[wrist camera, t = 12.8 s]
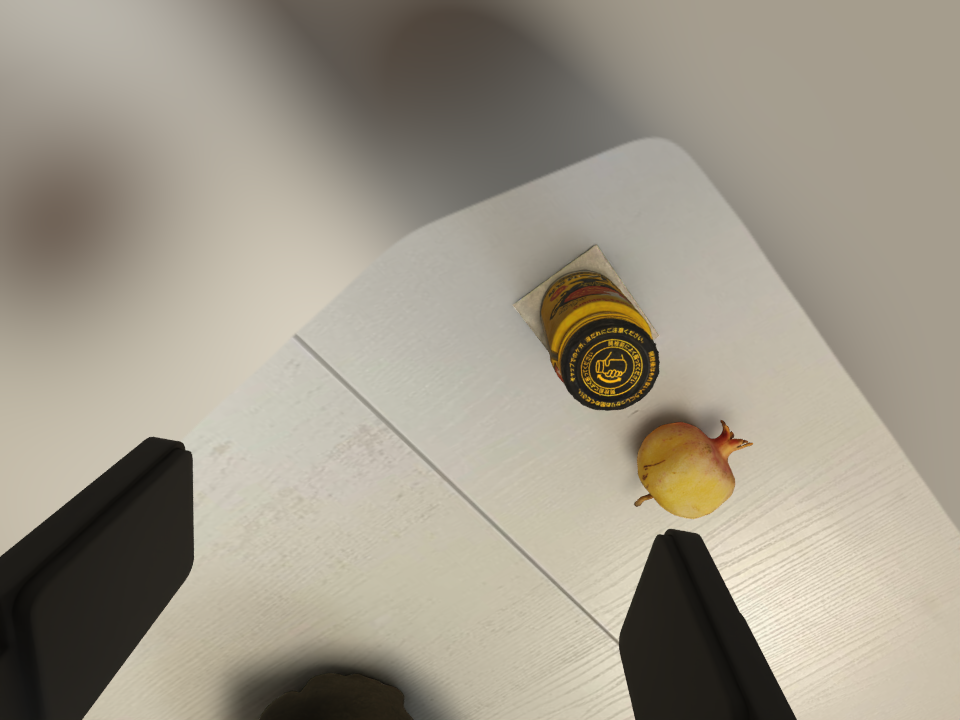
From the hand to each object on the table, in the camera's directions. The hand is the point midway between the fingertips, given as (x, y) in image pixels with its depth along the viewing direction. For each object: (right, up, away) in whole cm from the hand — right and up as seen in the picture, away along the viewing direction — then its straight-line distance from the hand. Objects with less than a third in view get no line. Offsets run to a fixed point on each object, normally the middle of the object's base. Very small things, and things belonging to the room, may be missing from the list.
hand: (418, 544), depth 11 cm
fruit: (+17, -3, +33) cm, 37 cm away
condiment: (+9, +7, +30) cm, 32 cm away
